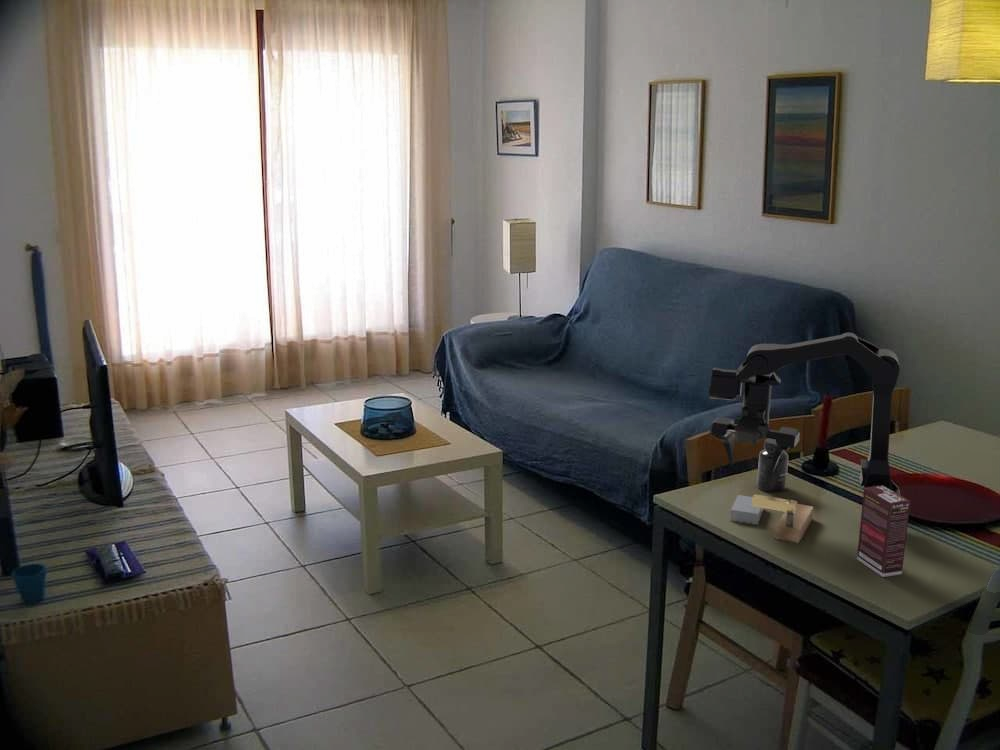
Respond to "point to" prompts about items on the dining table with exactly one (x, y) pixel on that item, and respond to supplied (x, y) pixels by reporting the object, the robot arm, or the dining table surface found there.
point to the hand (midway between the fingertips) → (751, 468)
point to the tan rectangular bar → (774, 503)
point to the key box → (794, 524)
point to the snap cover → (745, 510)
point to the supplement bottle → (765, 477)
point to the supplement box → (883, 530)
